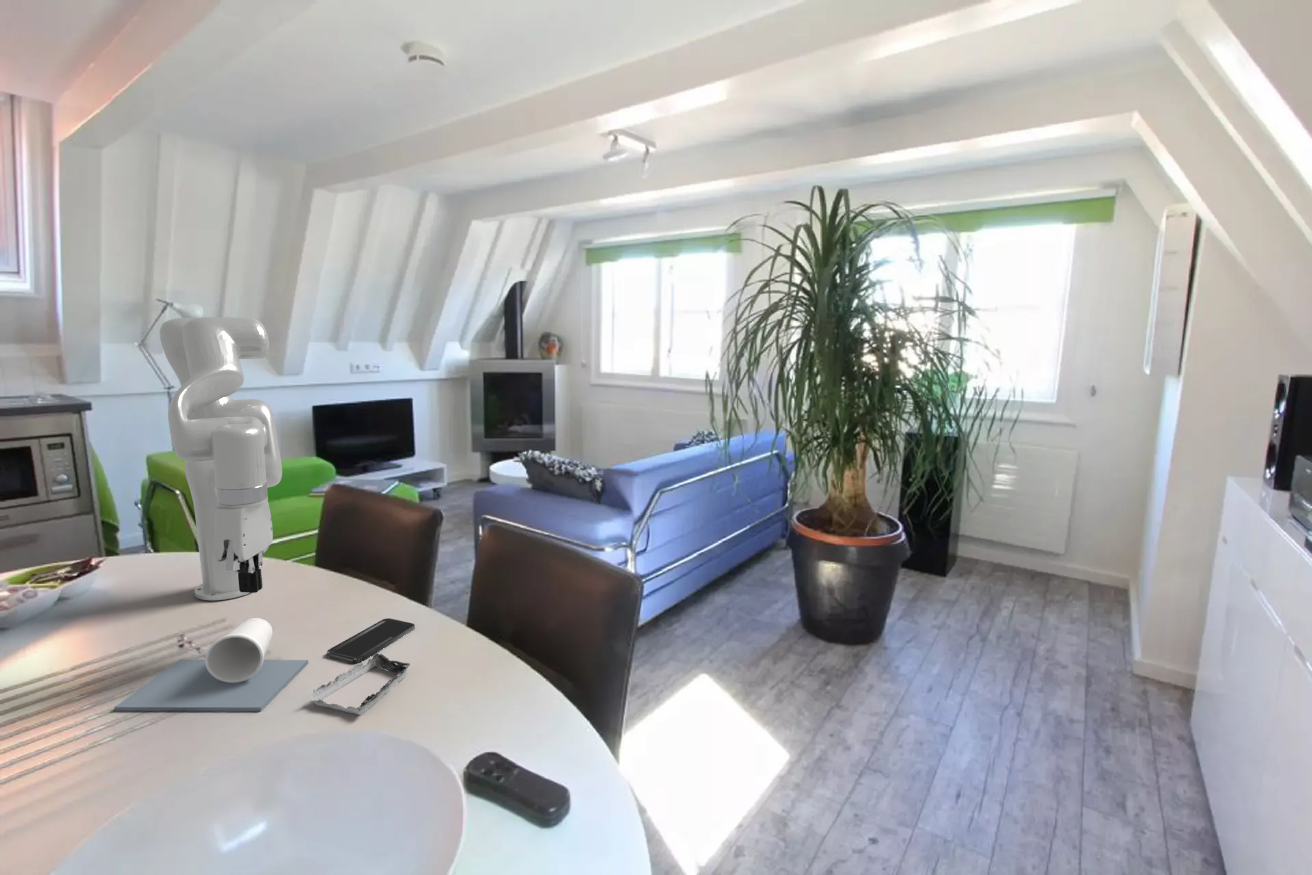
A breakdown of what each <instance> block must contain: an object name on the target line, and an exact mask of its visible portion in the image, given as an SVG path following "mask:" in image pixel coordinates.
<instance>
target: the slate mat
mask: <svg viewBox="0 0 1312 875" xmlns="http://www.w3.org/2000/svg"><path fill="white" fill-rule="evenodd" d="M308 664H309V660H308V659H264V661H263V664H262V667H261V668H260V670H259V671H258V672H257V673H256V674H255V675H254V676H253V677H251V678H250V679H248V680H245V681H242V682H238V683H227V682H223V681H220V680H218V679H216V678H215V677H213V676H212V675H211V674H210V673H209V671H208V670H207V667H206V664H205V659H179V660H177V661H176V662H175V663H173V664H172V665H171V666H169V667H168V668H167V669H166V668H165V670H163V671H162V672H161V673H160V674H158V675H156V677H154V678H153V679H151V680H150V681H148V682H147V683H146V684H144V685H143V686H142V687H140V688H139V689H138V690H136V691H135V692H133V693H132V694H131V695H129V696H128V697H126V698H125V699H124V700H122V701H121V702H119V703H118V704H117V705H116V706H114V712H115V711H116V712H117V711H118V712H120V711H121V712H125V711H126V712H127V711H129V712H133V711H134V712H135V711H136V712H137V711H138V712H140V711H142V712H143V711H144V712H150V711H151V712H171V711H172V712H238V711H239V712H262V711H264V709H265V708H266V707H267V706H268V705H269V703H271V702H272V701H273V700H274V699H275V698H276V697H277V695H278V694H280V693H281V692H282V691H283V690H284V688H286V686H287V685H288V684H289V683H290V682H292V681H293V680H294V678H295V677H297V676H298V674H299V673H300V672H302V670H303V669H304V668H305V667H306V666H307V665H308ZM248 695H249V696H250V698H249V696H248Z"/></svg>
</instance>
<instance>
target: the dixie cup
mask: <svg viewBox="0 0 1312 875" xmlns="http://www.w3.org/2000/svg"><path fill="white" fill-rule="evenodd" d="M272 637H273V626H272V625H271V624H270V623H269V622H268V621H267V620H266V619H263V618H260V617H253V618H252V617H251V618H247V619H245V620H244V621H242V622H241V623H240V624H239V625H237V626H236V627H234V628H233V629H232V630H230V631H229V632H228V633H226V634H225V635H223V636H220V637H219V638H218V639H216V640H215V641H213V642H212V644H210V646H209V647H208V649H207V650H206V652H205V657H204V660H205V664H206V667H207V670H208V671H209V673H210V674H211V675H212V676H213V677H215V678H216V679H218V680H220V681H223V682H227V683H238V682H242V681H245V680H248V679H250V678H251V677H253V676H254V675H255V674H256V673H257V672H258V671H259V670H260V668H261V667H262V664H263V661H264V660H265V656H266V653H267V650H268V647H269V646H270V642H271V640H272Z"/></svg>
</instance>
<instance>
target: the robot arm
mask: <svg viewBox="0 0 1312 875" xmlns="http://www.w3.org/2000/svg"><path fill="white" fill-rule="evenodd" d="M159 338H160V343H161V344H160V345H161V347H162V350H163V353H164V356H165V358H166V360H167V362H168V364H169V365H170V366H171V369H172V370H173V371H174V373H175V375H176V377H177V379H178V381H179V383H180V387H179V388H178V390H176V392H175V393H174V394H173V396H172V398H171V400H170V403H169V406H168V410H167V412H168V413H167V419H168V426H169V427H168V428H169V431H170V432H169V433H170V438H171V443H172V447H173V450H174V453H175V455H176V456H177V457H178V458H179V459H180V460H183V461H185V465H184V473H185V478H186V482H187V484H188V487H189V491H190V494H191V495H190V496H191V499H192V502H193V511H194V517H195V518H194V519H195V525H196V526H195V527H196V533H197V543H198V545H197V546H198V553H199V561H200V563H199V564H200V570H201V571H200V572H201V581H202V582H201V583H200V584H198V586H196V588H195V589H194V596H195V597H196V598H197V599H198V600H199V599H200V600H203V601H223V600H224V601H225V600H230V599H234V598H235V599H236V598H239V597H243V596H247V595H248V594H252V593H253V594H256V593H258V592H259V591H260V590H262V589H263V583H264V580H263V579H264V578H263V577H262V567H263V564H264V560H263V556H264V554H265V552H267V550H268V549H269V547H270V546H271V544H272V543H273V539H274V533H273V532H274V531H273V529H274V528H273V520H272V514H271V510H270V509H271V508H270V504H269V496H268V494H269V493H268V488H271V487H276V486H277V485H279V483H280V482H281V481H282V477H283V465H282V459H281V452H280V447H279V440H278V435H277V434H278V432H277V428H276V422H275V417H274V414H273V411H272V408H271V407H270V406H269V404H268V403H266V402H265V401H264V400H261V399H256V398H254V399H253V398H252V399H251V398H250V399H233V398H232V396H231V395H232V394H234V393H236V392H237V391H238V390H240V389H241V387H242V386H243V383H244V382H245V381H244V380H245V376H244V372H243V368H242V365H241V362H240V360H250V359H251V360H253V359H257V360H258V359H264V358H265V357H266V356H268V353H269V350H270V340H269V339H270V338H269V335H268V331H267V329H266V327H265V326H264V324H263V323H262V322H261V321H260V320H258V319H257V318H253V317H223V316H221V317H220V316H218V317H217V316H204V317H180V318H179V317H177V318H171V319H169V320H166V321H164V322H163V323H162V324H161V326H160V329H159Z"/></svg>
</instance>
